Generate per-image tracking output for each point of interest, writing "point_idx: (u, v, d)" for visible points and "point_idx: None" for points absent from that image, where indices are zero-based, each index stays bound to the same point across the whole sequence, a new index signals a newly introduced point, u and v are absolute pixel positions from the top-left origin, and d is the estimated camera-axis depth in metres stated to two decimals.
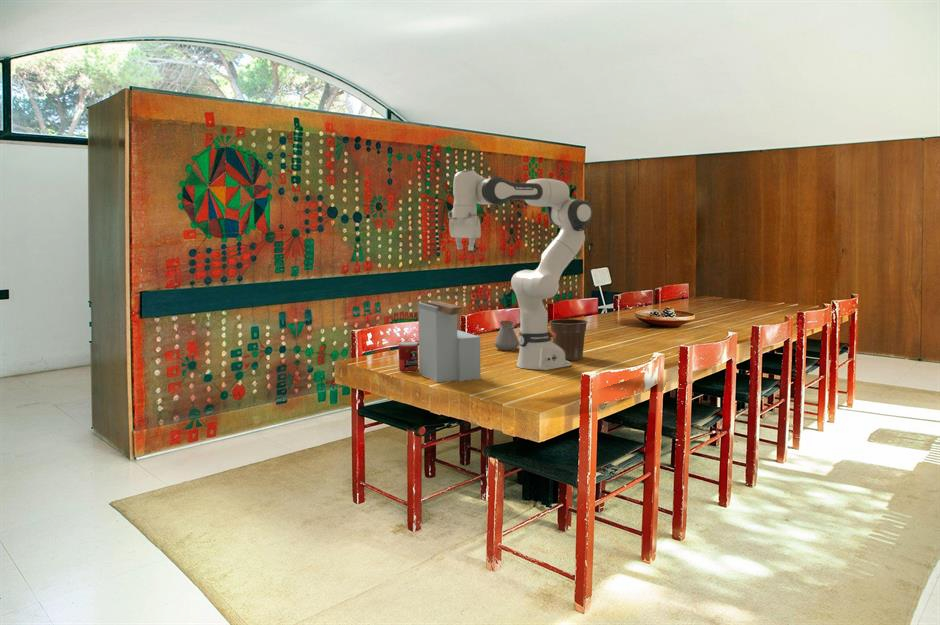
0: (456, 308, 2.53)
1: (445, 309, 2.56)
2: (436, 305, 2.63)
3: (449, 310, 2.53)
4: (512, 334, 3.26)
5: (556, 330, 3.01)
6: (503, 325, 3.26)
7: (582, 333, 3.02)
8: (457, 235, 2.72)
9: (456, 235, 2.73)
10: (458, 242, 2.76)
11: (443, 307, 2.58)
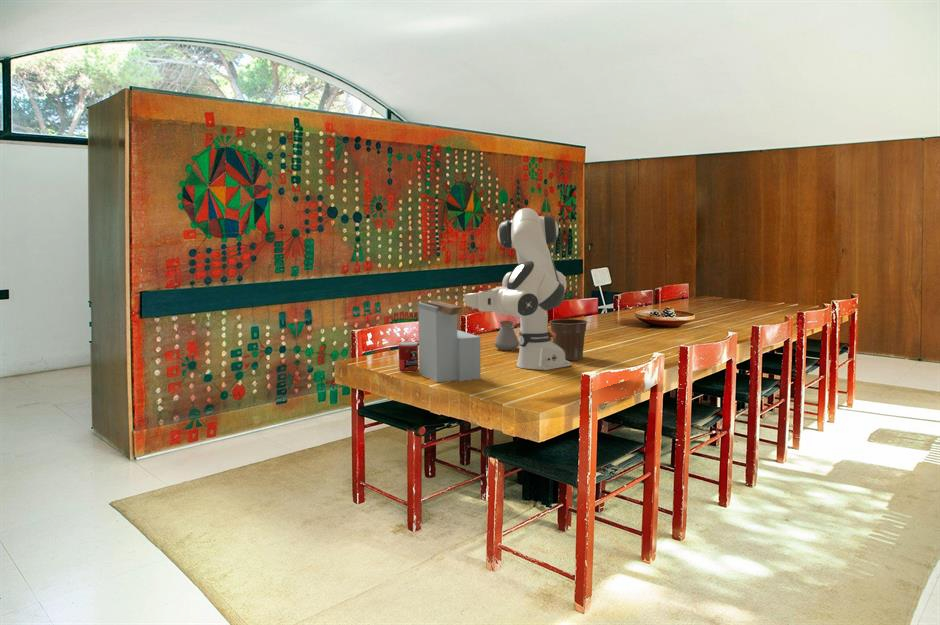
0: (456, 308, 2.53)
1: (445, 309, 2.56)
2: (436, 305, 2.63)
3: (449, 310, 2.53)
4: (512, 334, 3.26)
5: (556, 330, 3.01)
6: (503, 325, 3.26)
7: (582, 333, 3.02)
8: None
9: None
10: None
11: (443, 307, 2.58)
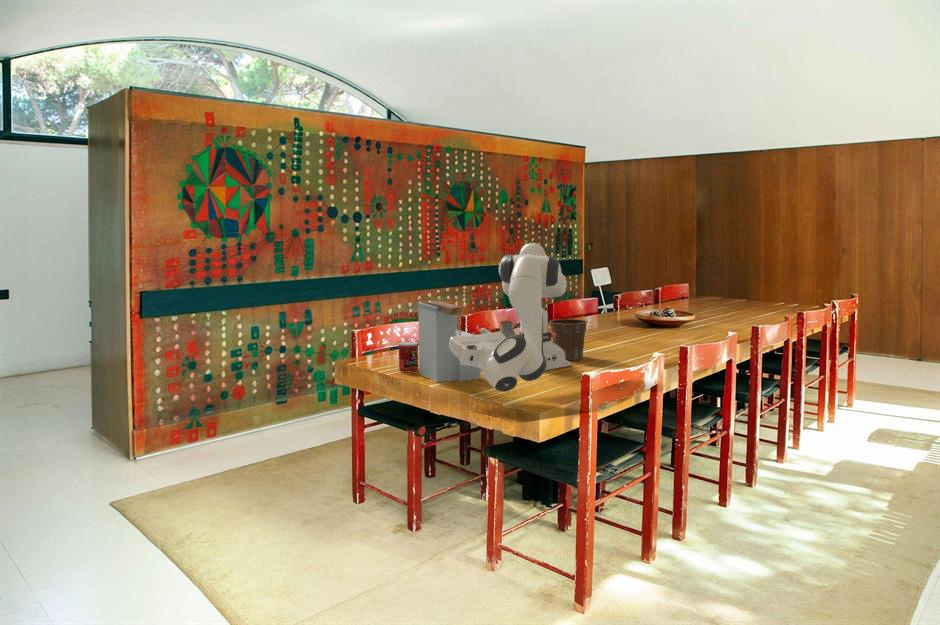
0: (456, 308, 2.53)
1: (445, 309, 2.56)
2: (436, 305, 2.63)
3: (449, 310, 2.53)
4: (512, 334, 3.26)
5: (556, 330, 3.01)
6: (503, 325, 3.26)
7: (582, 333, 3.02)
8: None
9: None
10: None
11: (443, 307, 2.58)
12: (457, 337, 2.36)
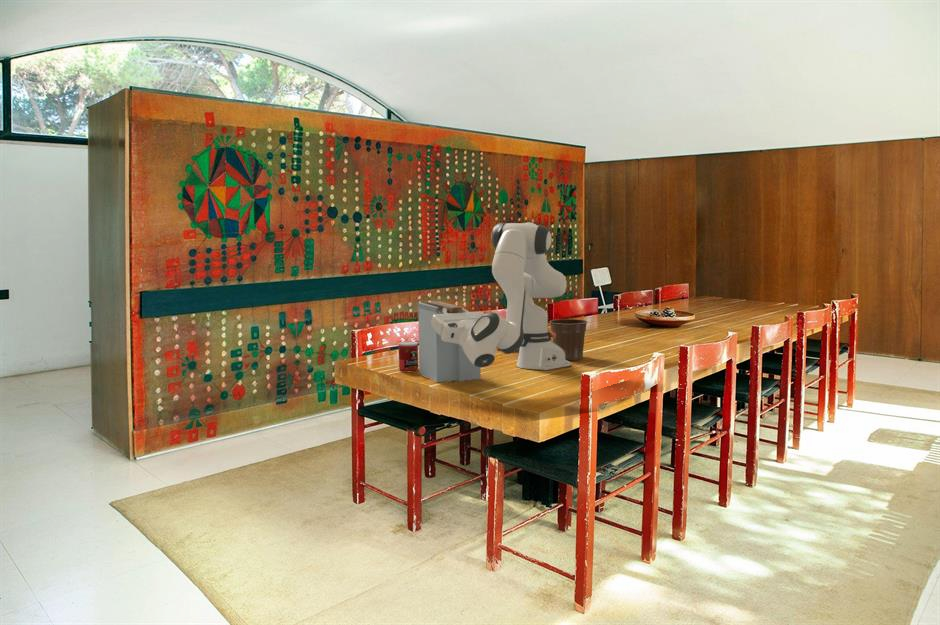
0: (456, 308, 2.53)
1: None
2: (436, 305, 2.63)
3: (450, 310, 2.53)
4: None
5: (556, 330, 3.01)
6: None
7: (582, 333, 3.02)
8: None
9: None
10: None
11: (443, 307, 2.58)
12: (439, 315, 2.48)
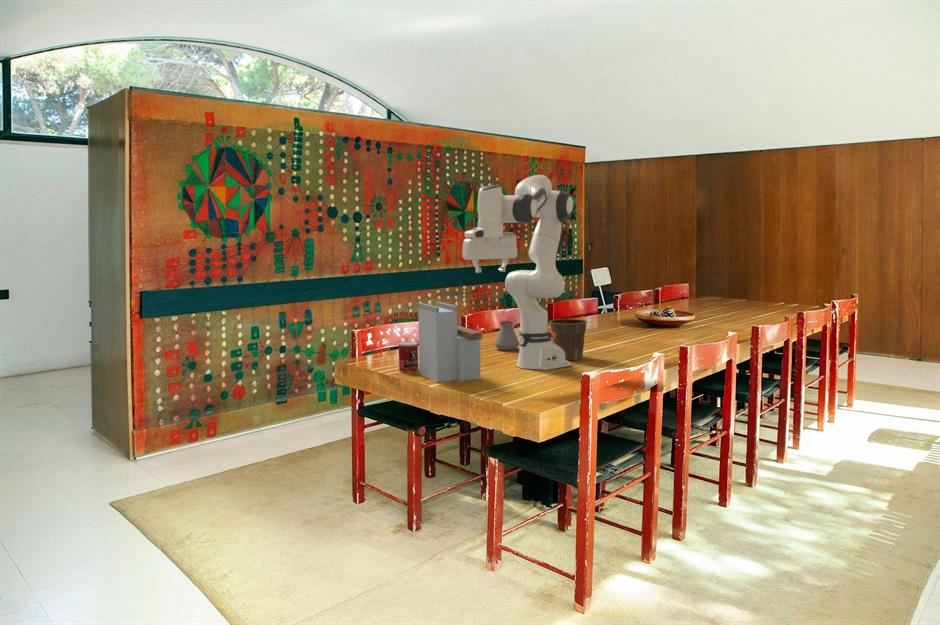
0: (476, 334, 2.59)
1: (465, 334, 2.62)
2: None
3: (470, 336, 2.59)
4: (512, 334, 3.26)
5: (556, 330, 3.01)
6: (503, 325, 3.26)
7: (582, 333, 3.02)
8: (485, 256, 2.45)
9: (482, 257, 2.45)
10: None
11: (463, 332, 2.63)
12: None
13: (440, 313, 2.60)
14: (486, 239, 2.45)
